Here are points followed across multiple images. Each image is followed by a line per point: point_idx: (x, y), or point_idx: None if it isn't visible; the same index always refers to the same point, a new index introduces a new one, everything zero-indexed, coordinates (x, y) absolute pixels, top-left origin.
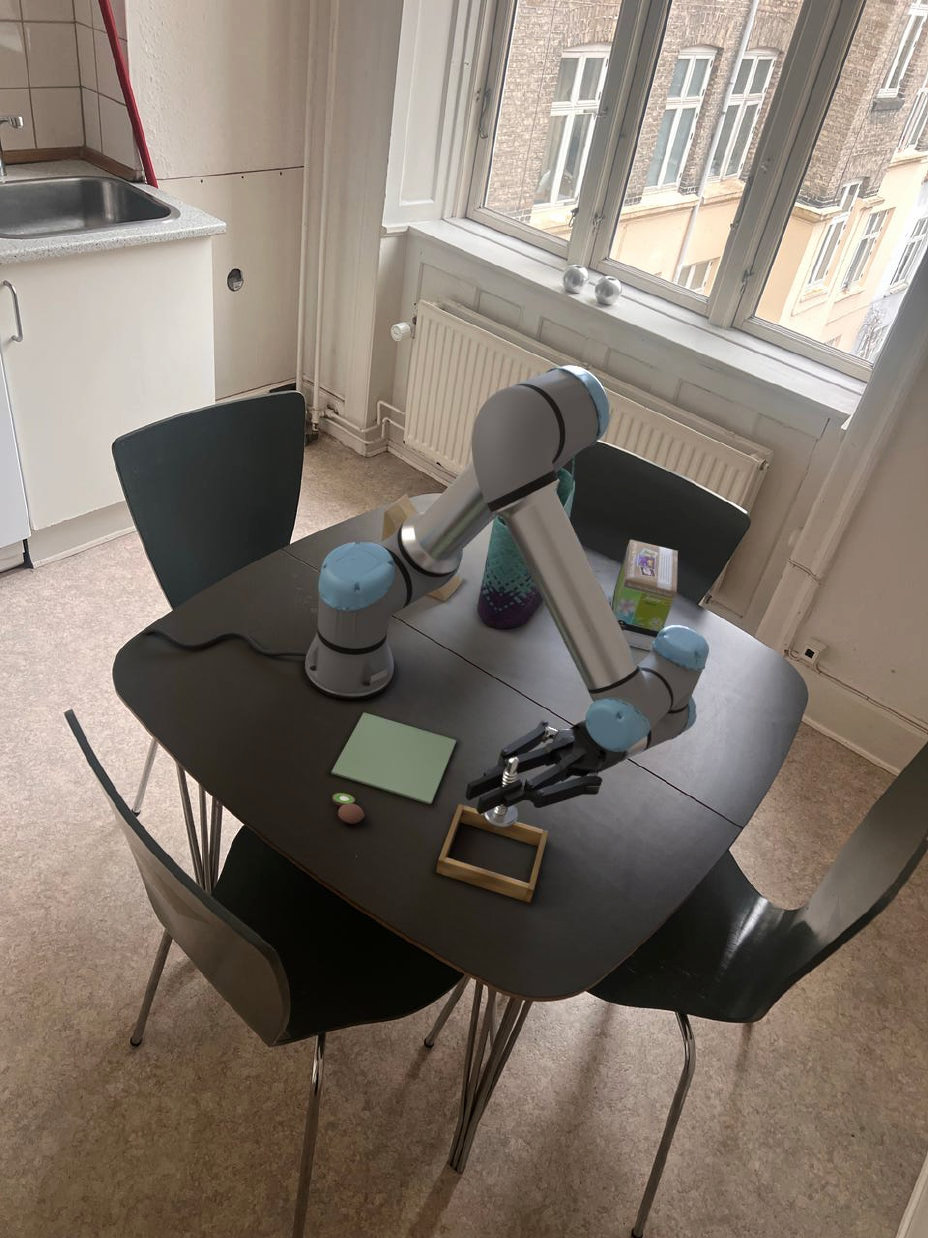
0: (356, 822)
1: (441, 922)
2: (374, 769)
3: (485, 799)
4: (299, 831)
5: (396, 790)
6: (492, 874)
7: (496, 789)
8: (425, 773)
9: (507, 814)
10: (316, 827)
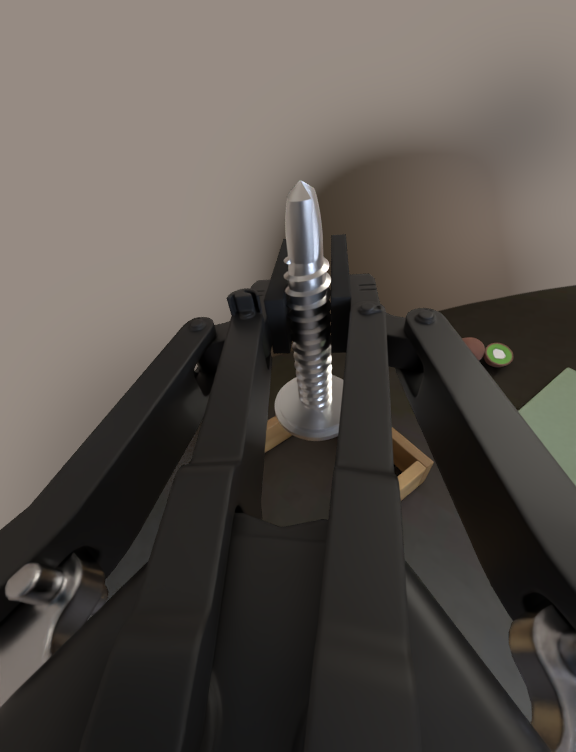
0: None
1: (274, 375)
2: (573, 415)
3: (284, 242)
4: (457, 321)
5: None
6: (269, 423)
7: None
8: None
9: (298, 404)
10: (459, 333)
